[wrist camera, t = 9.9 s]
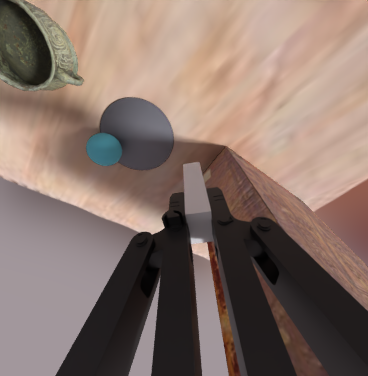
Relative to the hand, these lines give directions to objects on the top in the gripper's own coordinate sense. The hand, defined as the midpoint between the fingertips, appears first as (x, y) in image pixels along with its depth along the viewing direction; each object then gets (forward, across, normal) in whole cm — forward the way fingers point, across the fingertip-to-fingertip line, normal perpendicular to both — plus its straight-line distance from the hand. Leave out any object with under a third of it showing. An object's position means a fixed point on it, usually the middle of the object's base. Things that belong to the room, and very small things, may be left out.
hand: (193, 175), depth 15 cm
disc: (+16, -9, 0) cm, 19 cm away
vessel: (+17, -18, +13) cm, 28 cm away
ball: (+14, -14, 0) cm, 20 cm away
